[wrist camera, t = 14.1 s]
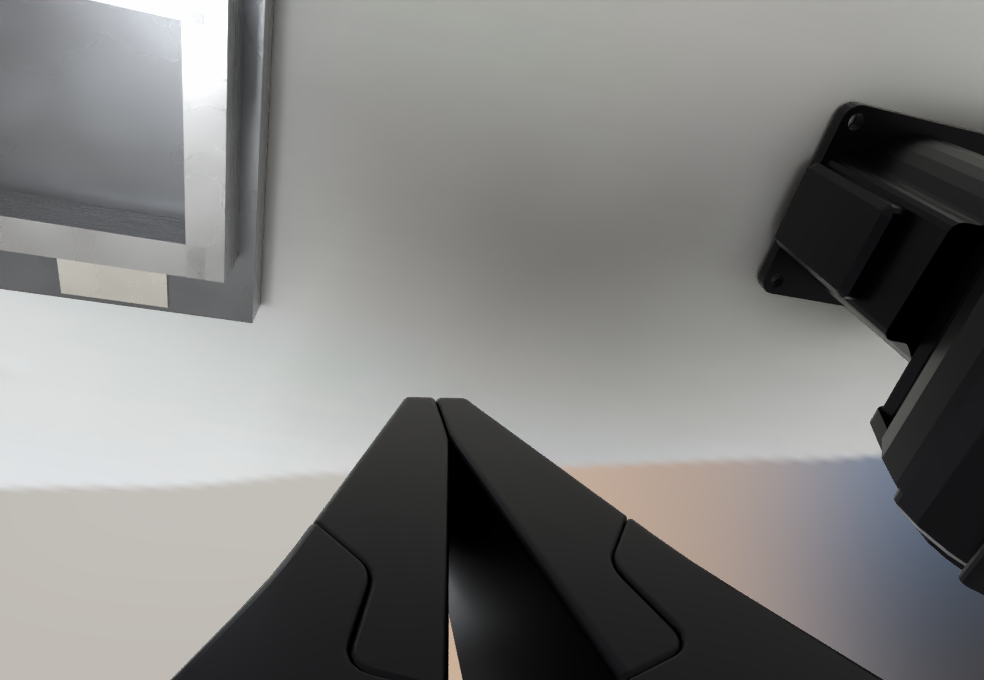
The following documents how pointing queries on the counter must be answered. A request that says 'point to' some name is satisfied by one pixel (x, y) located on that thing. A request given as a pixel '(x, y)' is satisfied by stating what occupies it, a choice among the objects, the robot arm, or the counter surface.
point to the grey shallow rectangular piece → (135, 151)
